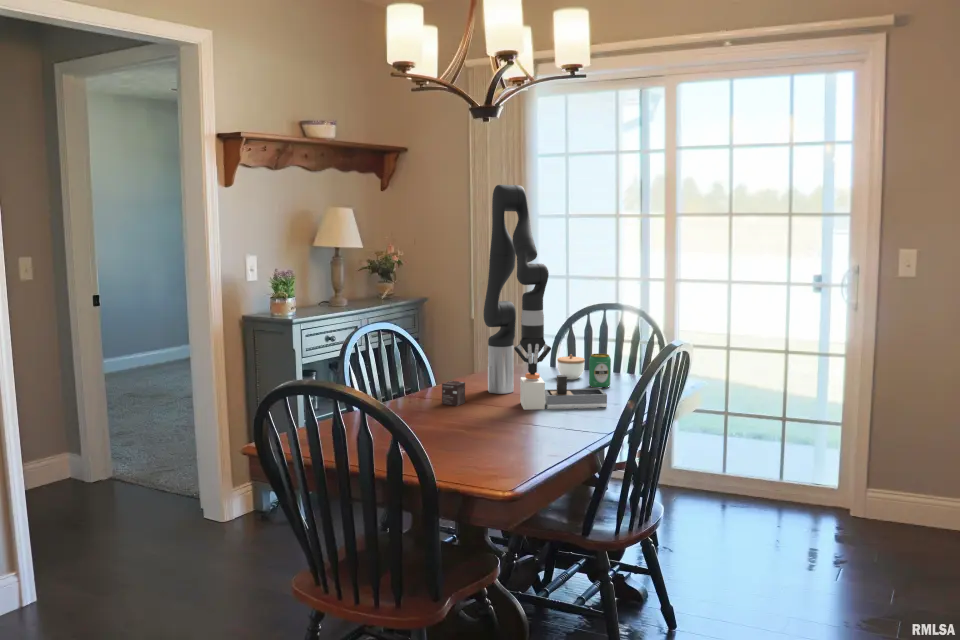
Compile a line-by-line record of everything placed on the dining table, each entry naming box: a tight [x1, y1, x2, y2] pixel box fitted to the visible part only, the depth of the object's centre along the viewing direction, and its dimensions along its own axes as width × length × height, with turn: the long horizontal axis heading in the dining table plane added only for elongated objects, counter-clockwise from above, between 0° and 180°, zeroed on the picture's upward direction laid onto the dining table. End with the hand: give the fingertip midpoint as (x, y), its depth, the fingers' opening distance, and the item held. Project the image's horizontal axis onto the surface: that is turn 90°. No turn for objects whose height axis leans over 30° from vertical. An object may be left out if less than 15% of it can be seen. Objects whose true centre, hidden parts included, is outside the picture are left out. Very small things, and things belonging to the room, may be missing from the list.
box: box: [441, 380, 466, 407], centre depth 283 cm, size 6×6×7 cm
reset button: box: [524, 372, 541, 381], centre depth 278 cm, size 5×5×5 cm
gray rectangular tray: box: [545, 388, 608, 410], centre depth 280 cm, size 20×10×4 cm, turn 94°
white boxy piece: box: [519, 376, 546, 410], centre depth 279 cm, size 7×10×9 cm
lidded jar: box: [557, 354, 586, 380], centre depth 327 cm, size 11×11×9 cm
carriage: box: [550, 374, 573, 395], centre depth 279 cm, size 7×7×8 cm
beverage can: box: [588, 353, 612, 388], centre depth 310 cm, size 8×8×12 cm
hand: (532, 374), depth 278 cm, fingers closed
